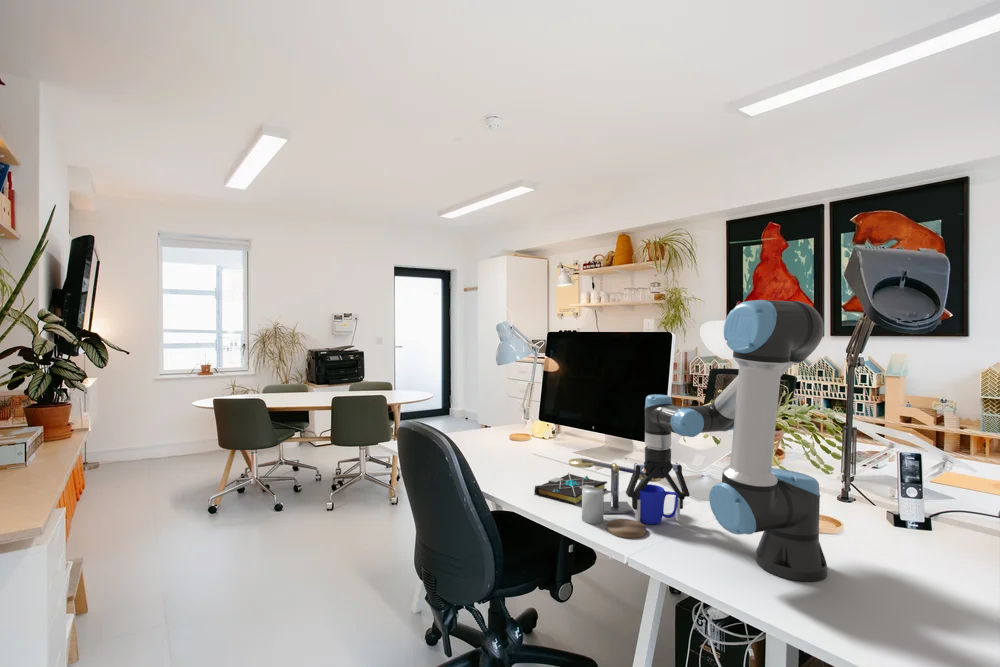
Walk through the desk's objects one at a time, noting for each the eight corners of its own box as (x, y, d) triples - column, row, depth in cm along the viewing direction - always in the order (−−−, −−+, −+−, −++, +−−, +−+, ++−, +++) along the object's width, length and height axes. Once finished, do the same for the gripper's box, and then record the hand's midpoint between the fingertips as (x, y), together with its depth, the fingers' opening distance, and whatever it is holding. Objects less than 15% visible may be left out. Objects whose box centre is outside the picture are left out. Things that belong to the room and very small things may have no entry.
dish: (651, 538, 142) (651, 533, 142) (611, 538, 142) (612, 534, 142) (639, 522, 153) (639, 518, 153) (602, 523, 153) (602, 519, 152)
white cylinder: (605, 524, 152) (605, 493, 152) (584, 524, 152) (584, 494, 152) (600, 516, 158) (601, 487, 158) (580, 516, 158) (580, 487, 158)
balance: (664, 513, 161) (665, 461, 160) (570, 514, 160) (571, 462, 160) (656, 504, 169) (656, 455, 168) (566, 505, 168) (566, 455, 167)
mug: (679, 528, 148) (680, 494, 148) (636, 525, 151) (636, 491, 151) (676, 518, 156) (676, 485, 156) (635, 515, 159) (635, 483, 159)
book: (567, 481, 195) (568, 468, 195) (607, 491, 184) (607, 477, 184) (533, 495, 178) (533, 481, 178) (575, 507, 167) (575, 491, 167)
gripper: (691, 443, 157) (691, 514, 158) (615, 444, 157) (615, 515, 157) (702, 449, 150) (701, 524, 150) (622, 450, 149) (621, 524, 149)
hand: (657, 519), depth 154 cm, fingers closed on mug, 11 cm apart
